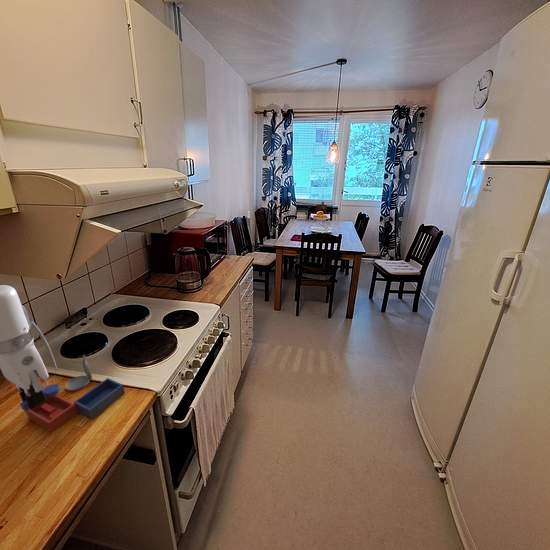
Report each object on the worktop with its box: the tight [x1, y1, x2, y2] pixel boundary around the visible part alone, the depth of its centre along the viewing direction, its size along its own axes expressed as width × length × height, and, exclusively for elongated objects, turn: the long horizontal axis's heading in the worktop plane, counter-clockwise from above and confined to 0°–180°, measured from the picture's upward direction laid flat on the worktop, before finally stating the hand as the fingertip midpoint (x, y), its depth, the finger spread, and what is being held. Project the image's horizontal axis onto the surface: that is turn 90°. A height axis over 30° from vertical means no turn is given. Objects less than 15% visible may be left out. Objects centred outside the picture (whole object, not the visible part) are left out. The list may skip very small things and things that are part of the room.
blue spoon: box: [19, 383, 61, 412], centre depth 71 cm, size 8×3×2 cm, turn 155°
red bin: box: [25, 394, 79, 433], centre depth 84 cm, size 11×7×4 cm, turn 66°
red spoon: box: [40, 403, 64, 420], centre depth 84 cm, size 8×3×2 cm, turn 66°
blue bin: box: [73, 377, 126, 420], centre depth 89 cm, size 11×7×4 cm, turn 156°
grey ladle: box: [64, 354, 93, 392], centre depth 94 cm, size 8×8×10 cm
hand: (35, 402), depth 70 cm, fingers closed on blue spoon, 1 cm apart
